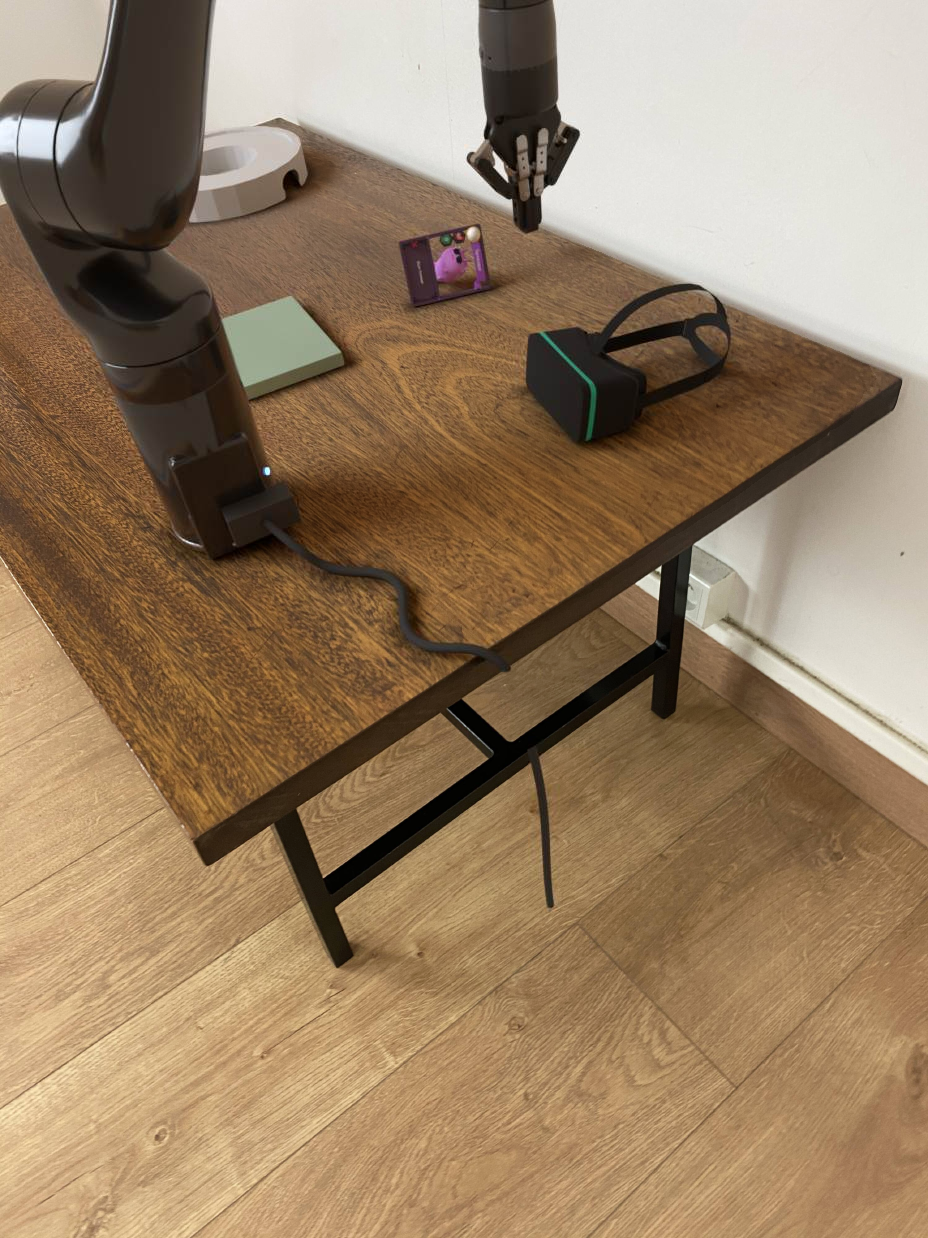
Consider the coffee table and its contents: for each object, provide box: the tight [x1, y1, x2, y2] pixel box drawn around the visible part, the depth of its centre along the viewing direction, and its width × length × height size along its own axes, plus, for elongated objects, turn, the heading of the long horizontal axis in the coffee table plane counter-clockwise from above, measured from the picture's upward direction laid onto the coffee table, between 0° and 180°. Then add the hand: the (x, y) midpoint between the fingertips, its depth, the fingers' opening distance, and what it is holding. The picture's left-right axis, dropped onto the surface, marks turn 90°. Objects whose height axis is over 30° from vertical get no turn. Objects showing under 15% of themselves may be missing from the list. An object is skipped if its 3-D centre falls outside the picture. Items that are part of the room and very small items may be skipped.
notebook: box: [222, 295, 345, 401], centre depth 95 cm, size 15×11×2 cm
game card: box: [398, 223, 492, 308], centre depth 99 cm, size 7×5×9 cm
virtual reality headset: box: [525, 282, 732, 444], centre depth 80 cm, size 11×17×10 cm, turn 112°
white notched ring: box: [188, 125, 309, 223], centre depth 127 cm, size 23×23×4 cm
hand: (528, 229), depth 101 cm, fingers closed
